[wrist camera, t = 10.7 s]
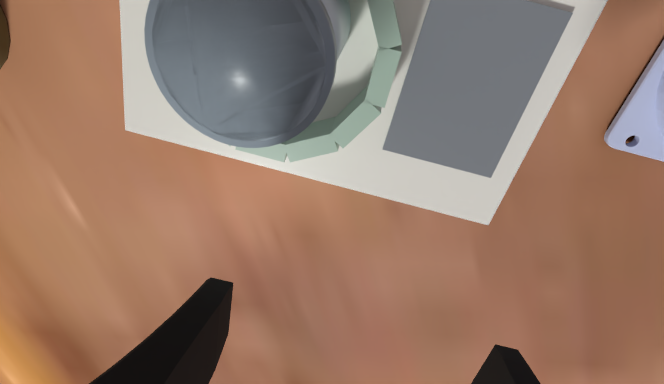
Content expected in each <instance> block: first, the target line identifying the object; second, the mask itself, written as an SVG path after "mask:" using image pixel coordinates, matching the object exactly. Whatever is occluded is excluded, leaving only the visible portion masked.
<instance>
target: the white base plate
mask: <svg viewBox="0 0 664 384" xmlns="http://www.w3.org/2000/svg"><path fill="white" fill-rule="evenodd" d="M607 1H608V0H348V2H349V6H350V13H351V24H350V31H349V36H348V39H347V42H346V44H345V46H344V48H343V50H342V52H341V54H340V56H339V58H338V60H337V65H336V73H335V78H334V82H333V85H332V88H331V90H330V93H329V96H328V98H327V100H326V102H325V104H324V106H323V108H322V110H321V111H320V113H319V114H318V116H317V117H316V118H315V120H314V121H313V122H312V123H311V124H310V125H309V126H308V127H307V128H306V129H305V130H303V131H302V132H301V133H300V134H298V135H297V136H295V137H293V138H291V139H290V140H288V141H285V142H283V143H280V144H277V145H273V146H269V147H262V148H244V147H236V146H232V145H228V144H224V143H222V142H219V141H216V140H214V139H212V138H210V137H208V136H206V135H204V134H202V133H201V132H199V131H198V130H196V129H195V128H193V127H192V126H191V125H189V124H188V123H187V122H186V121H185V120H183V119H182V118H181V117H180V116H179V115H178V114H177V113H176V112H175V110H174V109H173V108H172V107H171V105H170V104H169V103H168V102H167V100H166V99H165V97H164V96H163V94H162V93H161V91H160V89H159V87H158V85H157V83H156V81H155V79H154V77H153V74H152V72H151V69H150V66H149V62H148V58H147V55H146V48H145V34H144V28H145V18H146V13H147V9H148V5H149V2H150V0H120V21H121V44H122V67H123V90H124V113H125V130H127V131H131V132H134V133H138V134H142V135H146V136H150V137H153V138H157V139H161V140H165V141H169V142H173V143H176V144H180V145H184V146H188V147H192V148H195V149H199V150H203V151H207V152H211V153H215V154H218V155H222V156H226V157H230V158H234V159H237V160H241V161H245V162H249V163H253V164H256V165H260V166H264V167H268V168H272V169H276V170H279V171H283V172H287V173H291V174H295V175H298V176H302V177H306V178H310V179H314V180H318V181H321V182H325V183H329V184H333V185H337V186H340V187H344V188H348V189H352V190H356V191H359V192H363V193H367V194H371V195H375V196H379V197H382V198H386V199H390V200H394V201H398V202H401V203H405V204H409V205H413V206H417V207H420V208H424V209H428V210H432V211H436V212H440V213H443V214H447V215H451V216H455V217H459V218H462V219H466V220H470V221H474V222H478V223H482V224H485V225H489V223H490V221H491V219H492V217H493V215H494V214H495V212H496V210H497V208H498V206H499V204H500V202H501V200H502V199H503V197H504V195H505V193H506V191H507V189H508V187H509V185H510V183H511V182H512V180H513V178H514V176H515V174H516V172H517V170H518V168H519V166H520V165H521V163H522V161H523V159H524V157H525V155H526V153H527V151H528V149H529V148H530V146H531V144H532V142H533V140H534V138H535V136H536V134H537V133H538V131H539V129H540V127H541V125H542V123H543V121H544V119H545V117H546V116H547V114H548V112H549V110H550V108H551V106H552V104H553V102H554V100H555V99H556V97H557V95H558V93H559V91H560V89H561V87H562V85H563V84H564V82H565V80H566V78H567V76H568V74H569V72H570V70H571V68H572V67H573V65H574V63H575V61H576V59H577V57H578V55H579V53H580V51H581V50H582V48H583V46H584V44H585V42H586V40H587V38H588V36H589V35H590V33H591V31H592V29H593V27H594V25H595V23H596V21H597V19H598V18H599V16H600V14H601V12H602V10H603V8H604V6H605V4H606V2H607Z"/></svg>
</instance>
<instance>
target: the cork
mask: <svg viewBox="0 0 664 384" xmlns="http://www.w3.org/2000/svg"><path fill="white" fill-rule="evenodd" d="M9 45H10V37H9V31H8V25H7V20H6V17H5V15H4V13H3V10H2V8H1V6H0V69H1V67H2V66H3V64H4V63H5V61H6V60H7V58H8V52H9Z"/></svg>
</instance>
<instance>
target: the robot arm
mask: <svg viewBox="0 0 664 384" xmlns="http://www.w3.org/2000/svg"><path fill="white" fill-rule="evenodd" d="M630 136H635V137H634V140H633V141H631V142H629V143H625V142H626V139H627V138H629V137H630ZM604 140H605V142H606V143H607V144H608V145H609V146H610V147H612V148H614V149H618V150H622V151H626V152H630V153H633V154H637V155H641V156H645V157H649V158H652V159H656V160H660V161H664V40H663V42H662V43H661V45H660V46H659V48H658V50H657V51H656V53H655V54H654V56H653V58H652V59H651V61H650V62H649V64H648V66H647V67H646V69H645V70H644V72H643V74H642V75H641V77H640V78H639V80H638V82H637V83H636V85H635V86H634V88H633V90H632V91H631V93H630V94H629V96H628V98H627V99H626V101H625V102H624V104H623V106H622V107H621V109H620V110H619V112H618V114H617V115H616V117H615V118H614V120H613V122H612V123H611V125H610V126H609V128H608V130H607V131H606V133H605V136H604ZM232 291H233V283H232V282H228V281H223V280H219V279H215V278H210V279H208V280H206V281H205V282H204V284H203V285H202V286H201V287H200V288H199V289H198V290H197V291H196V292H195V293H194V294H193V295H192V296H191V297H190V298H189V299H188V300H187V301H186V302H185V303H184V304H183V305H182V306H181V307H180V308H179V309H178V310H177V311H176V312H175V313H174V314H173V315H172V316H171V317H169V318H168V319H167V320H166V321H165V322H164V323H163V324H162V325H161V326H160V327H158V328H157V329H156V330H155V331H154V332H153V333H152V334H151V335H150V336H148V337H147V338H146V339H145V340H144V341H143V342H141V343H140V344H139V345H138V346H136V347H135V348H134V349H133V350H132V351H130V352H129V353H128V354H127V355H126V356H124V357H123V358H122V359H121V360H119V361H118V362H117V363H116V364H114V365H113V366H112V367H111V368H109V369H108V370H107V371H105V372H104V373H103V374H101V375H100V376H99V377H97V378H96V379H95V380H93V381H92V382H91V383H89V384H209V381H210V379H211V377H212V375H213V373H214V371H215V369H216V366H217V363H218V361H219V358H220V355H221V352H222V350H223V347H224V344H225V341H226V338H227V336H228V331H229V321H230V311H231V301H232ZM471 384H540V382H539V381H538V379H537V378H536V376H535V375H534V373H533V372H532V370H531V369H530V367H529V366H528V364H527V363H526V361H525V360H524V358H523V357H522V355H521V354H520V352H519V351H518V350H516V349H512V348H508V347H504V346H500V345H495V346H494V348H493V349H492V351H491V352H490V354H489V356H488V357H487V359H486V361H485V362H484V364H483V365H482V367H481V369H480V370H479V372H478V373H477V375H476V377H475V378H474V380H473V382H472V383H471Z"/></svg>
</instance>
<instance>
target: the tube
mask: <svg viewBox="0 0 664 384" xmlns="http://www.w3.org/2000/svg"><path fill="white" fill-rule="evenodd" d="M350 24H351V13H350V6H349V2H348V0H150V2H149V5H148V9H147V13H146V18H145V28H144V34H145V48H146V55H147V58H148V62H149V66H150V69H151V72H152V74H153V77H154V79H155V81H156V83H157V85H158V87H159V89H160V91H161V93H162V94H163V96H164V97H165V99H166V100H167V102H168V103H169V104H170V105H171V107H172V108H173V109H174V110H175V112H176V113H177V114H178V115H179V116H180V117H181V118H182V119H183V120H185V121H186V122H187V123H188V124H189V125H191V126H192V127H193V128H195V129H196V130H198V131H199V132H201V133H202V134H204V135H206V136H208V137H210V138H212V139H214V140H216V141H219V142H222V143H224V144H228V145H232V146H236V147H244V148H262V147H269V146H273V145H277V144H280V143H283V142H285V141H288V140H290V139H291V138H293V137H295V136H297V135H298V134H300V133H301V132H302V131H303V130H305V129H306V128H307V127H308V126H309V125H310V124H311V123H312V122H313V121H314V120H315V118H316V117H317V116H318V114H319V113H320V111H321V110H322V108H323V106H324V104H325V102H326V100H327V98H328V96H329V93H330V90H331V88H332V85H333V82H334V78H335V73H336V65H337V60H338V58H339V56H340V54H341V52H342V50H343V48H344V46H345V44H346V42H347V39H348V36H349V31H350Z"/></svg>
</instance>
